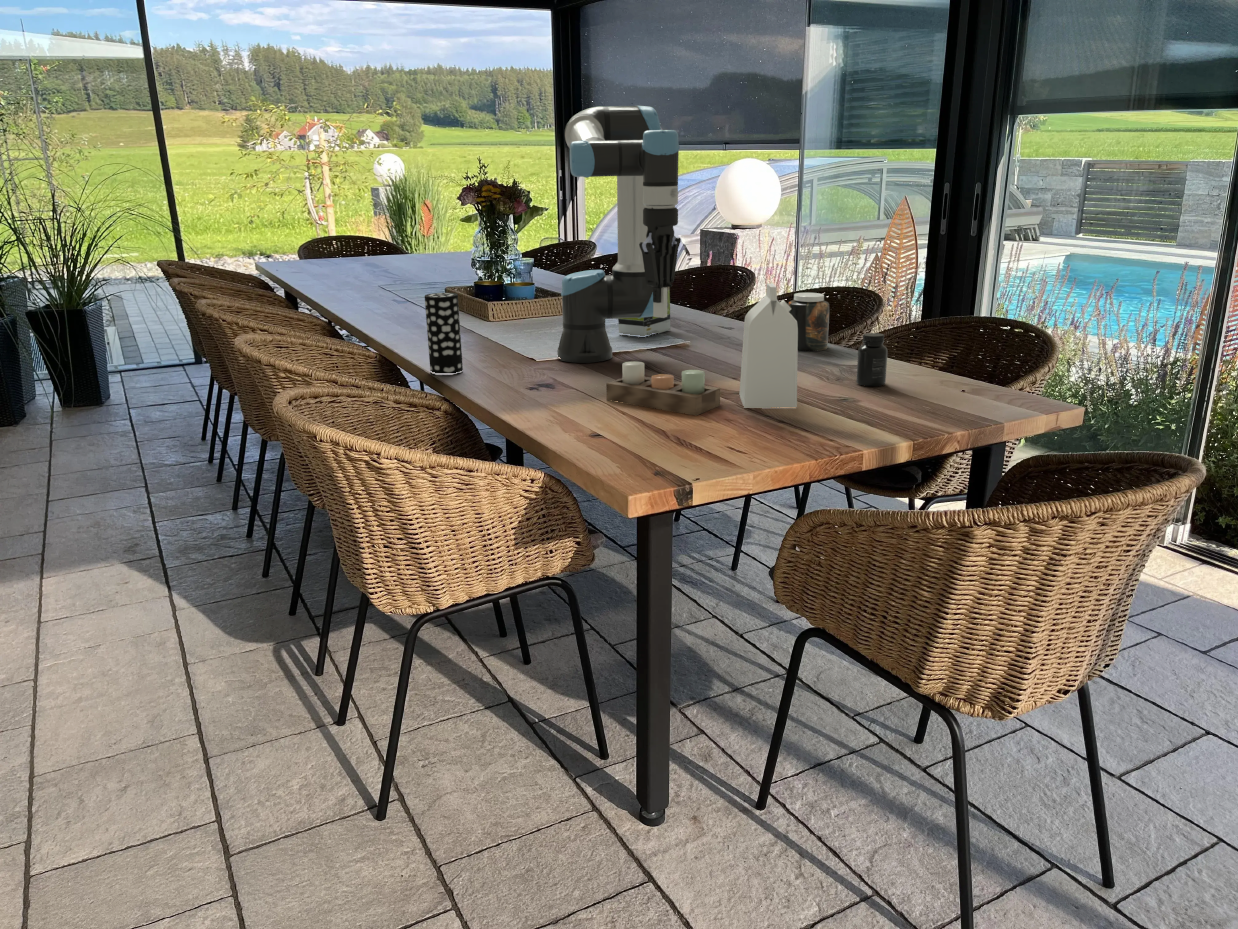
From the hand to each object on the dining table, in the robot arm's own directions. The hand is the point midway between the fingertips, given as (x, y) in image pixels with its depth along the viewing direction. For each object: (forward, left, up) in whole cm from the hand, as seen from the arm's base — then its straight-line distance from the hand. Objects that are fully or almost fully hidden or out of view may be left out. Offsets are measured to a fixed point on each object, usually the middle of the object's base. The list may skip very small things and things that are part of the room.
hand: (660, 316), depth 209 cm
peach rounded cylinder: (+2, -2, -18) cm, 18 cm away
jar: (+2, +72, -19) cm, 75 cm away
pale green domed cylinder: (+10, -2, -16) cm, 19 cm away
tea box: (-50, +66, -19) cm, 85 cm away
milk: (+21, +12, -19) cm, 31 cm away
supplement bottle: (+34, +40, -19) cm, 56 cm away
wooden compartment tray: (+2, -2, -19) cm, 19 cm away
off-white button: (-6, -2, -16) cm, 17 cm away
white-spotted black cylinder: (-62, -7, -19) cm, 66 cm away
